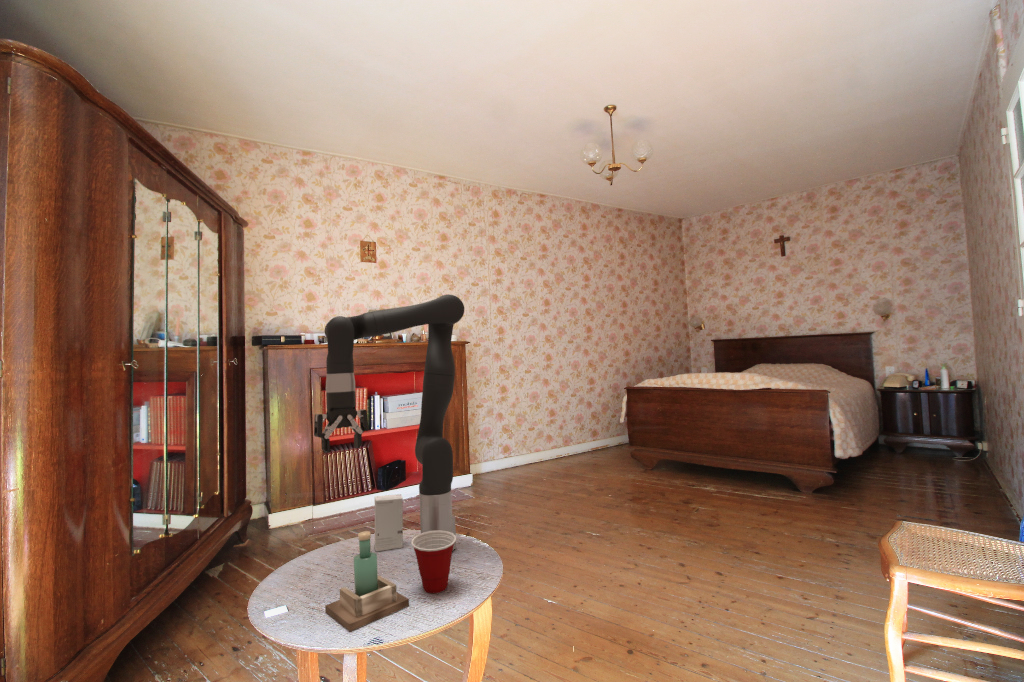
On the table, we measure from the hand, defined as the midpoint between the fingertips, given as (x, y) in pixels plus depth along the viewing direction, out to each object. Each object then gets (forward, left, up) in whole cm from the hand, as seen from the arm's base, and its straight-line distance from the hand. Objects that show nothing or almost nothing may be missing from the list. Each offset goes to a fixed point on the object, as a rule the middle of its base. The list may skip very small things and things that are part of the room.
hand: (342, 450), depth 131 cm
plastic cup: (-10, +27, -32) cm, 43 cm away
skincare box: (-17, -7, -32) cm, 37 cm away
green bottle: (+6, +23, -31) cm, 39 cm away
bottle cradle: (+6, +23, -32) cm, 40 cm away
